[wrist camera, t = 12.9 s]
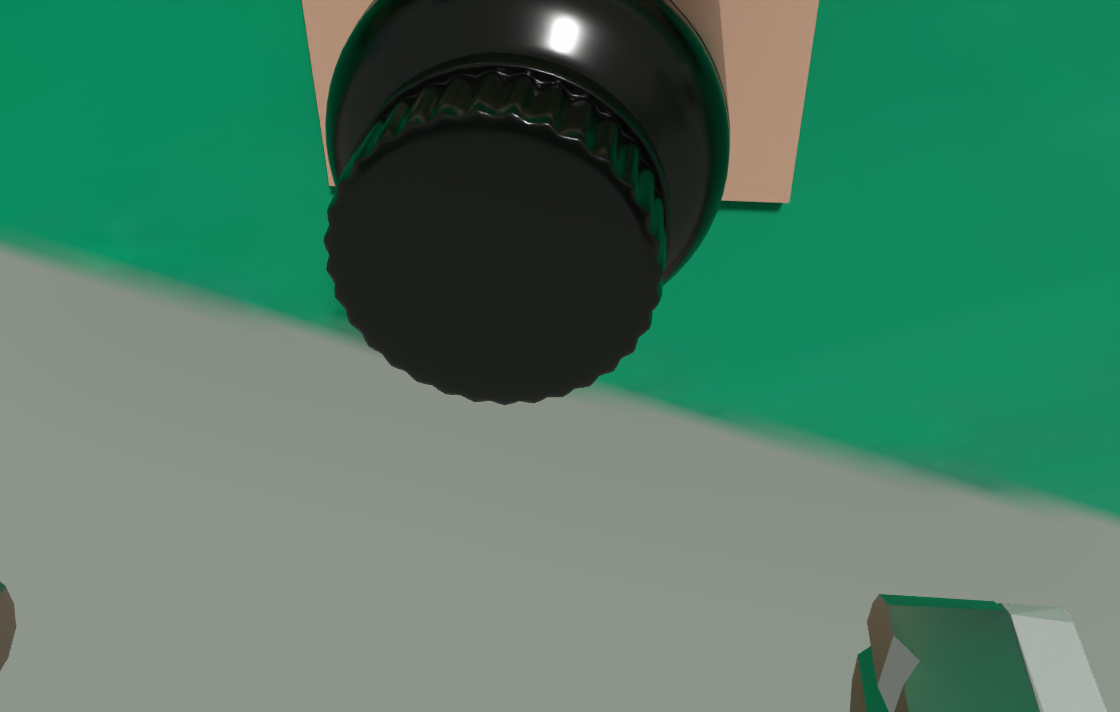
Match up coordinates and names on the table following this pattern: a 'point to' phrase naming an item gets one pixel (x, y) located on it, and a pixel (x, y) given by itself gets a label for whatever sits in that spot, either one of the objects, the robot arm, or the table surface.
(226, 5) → the table surface
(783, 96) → the terracotta tile
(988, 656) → the robot arm
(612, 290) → the supplement bottle
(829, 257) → the table surface
